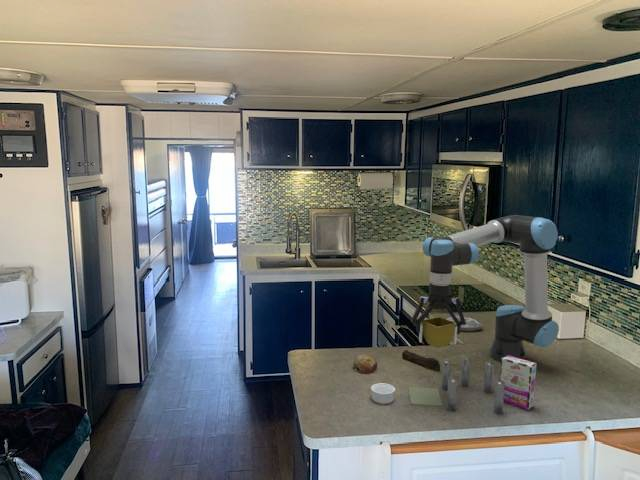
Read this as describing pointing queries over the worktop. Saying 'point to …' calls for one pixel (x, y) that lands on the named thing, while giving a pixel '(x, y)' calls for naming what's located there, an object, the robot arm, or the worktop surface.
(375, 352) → the worktop surface
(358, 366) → the bread roll
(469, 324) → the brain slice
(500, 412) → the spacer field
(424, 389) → the pad
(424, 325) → the flower pot
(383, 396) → the ramekin
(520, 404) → the candy bar box
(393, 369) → the worktop surface
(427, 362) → the brown wood log
